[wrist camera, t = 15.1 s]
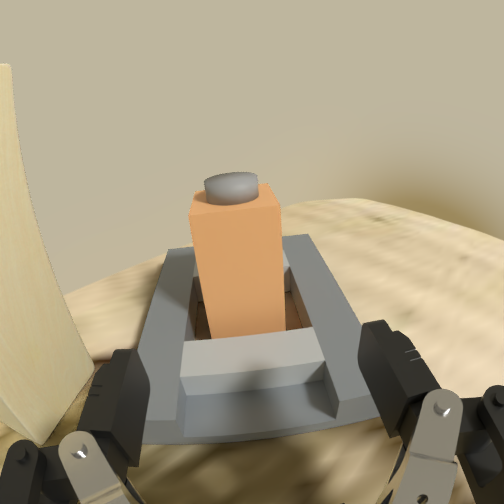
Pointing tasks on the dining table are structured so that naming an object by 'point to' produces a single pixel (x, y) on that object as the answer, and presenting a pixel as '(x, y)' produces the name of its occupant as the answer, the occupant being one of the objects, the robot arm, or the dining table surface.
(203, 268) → the orange block with knob
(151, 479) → the dining table surface
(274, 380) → the frame
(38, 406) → the pale yellow tall block
